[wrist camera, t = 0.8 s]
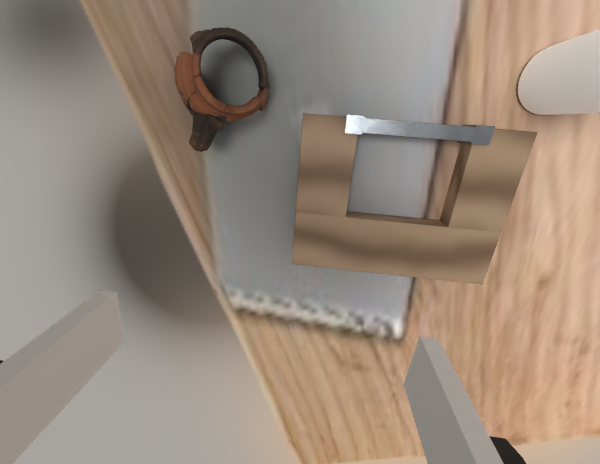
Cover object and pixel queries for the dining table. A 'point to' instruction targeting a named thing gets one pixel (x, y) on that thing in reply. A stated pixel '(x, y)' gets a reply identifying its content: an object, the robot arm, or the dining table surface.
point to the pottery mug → (201, 98)
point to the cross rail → (420, 129)
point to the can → (563, 78)
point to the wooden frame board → (404, 230)
